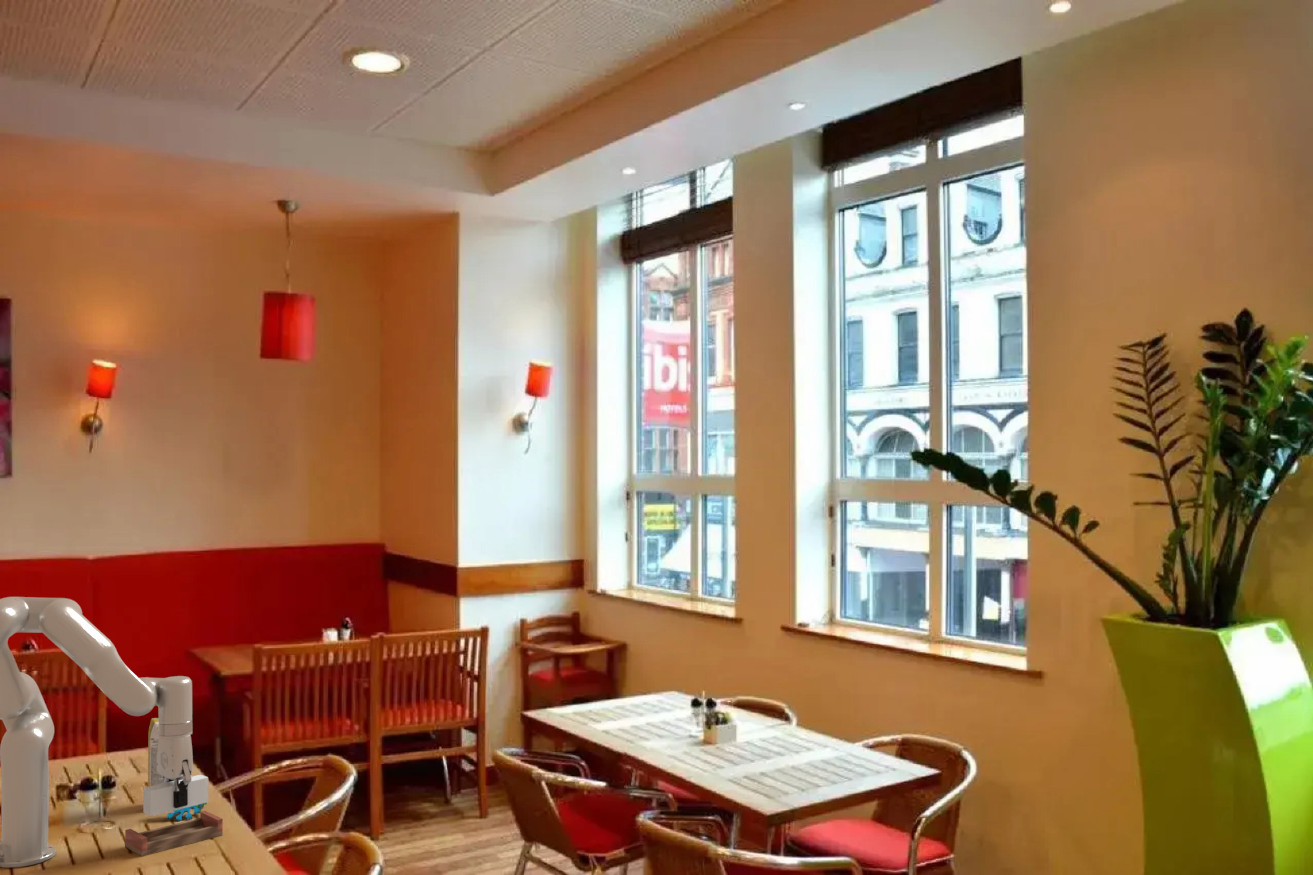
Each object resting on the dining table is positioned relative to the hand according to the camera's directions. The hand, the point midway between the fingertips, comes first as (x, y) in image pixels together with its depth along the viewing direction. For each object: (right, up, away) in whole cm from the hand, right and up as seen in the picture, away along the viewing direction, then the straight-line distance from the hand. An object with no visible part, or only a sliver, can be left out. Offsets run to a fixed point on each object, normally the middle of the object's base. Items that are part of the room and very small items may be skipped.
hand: (176, 803), depth 267 cm
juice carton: (-15, -10, +28) cm, 33 cm away
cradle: (0, -9, 0) cm, 9 cm away
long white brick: (0, -1, 0) cm, 1 cm away
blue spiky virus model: (-6, -10, +18) cm, 21 cm away
